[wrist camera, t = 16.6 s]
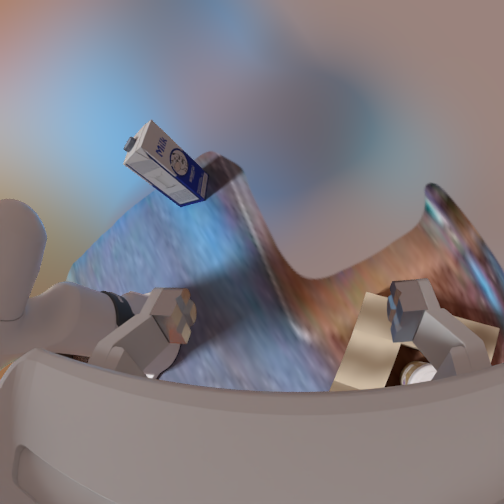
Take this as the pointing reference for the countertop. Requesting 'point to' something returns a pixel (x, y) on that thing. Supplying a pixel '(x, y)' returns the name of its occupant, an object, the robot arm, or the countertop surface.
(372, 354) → the bottle holder
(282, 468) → the robot arm
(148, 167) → the milk carton
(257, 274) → the countertop surface
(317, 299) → the countertop surface
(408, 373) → the sprinkles bottle
